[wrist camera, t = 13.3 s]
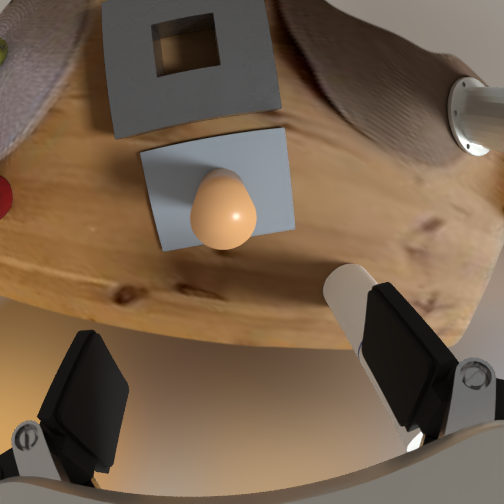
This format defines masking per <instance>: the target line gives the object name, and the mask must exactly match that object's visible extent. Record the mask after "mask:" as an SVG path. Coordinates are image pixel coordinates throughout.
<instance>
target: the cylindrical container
mask: <svg viewBox="0 0 504 504" xmlns="http://www.w3.org/2000/svg"><path fill="white" fill-rule="evenodd" d="M377 284H378V283H377V282H376V281H375V280H374V279H373V278H372V276H371V275H370V274H369V273H368V272H367V271H366V270H365V269H364V268H363V267H362V266H360V265H357V264H345V265H342V266H340V267H338V268H336V269H335V270H334V271H333V272H332V273H331V274H330V275H329V276H328V277H327V279H326V281H325V283H324V287H323V295H324V298H325V300H326V302H327V304H328V305H329V307H330V309H331V311H332V312H333V314H334V316H335V318H336V319H337V321H338V323H339V324H340V326H341V328H342V330H343V331H344V333H345V335H346V337H347V339H348V340H349V342H350V344H351V346H352V347H353V349H354V351H355V353H356V355H357V356H358V358H359V360H360V362H361V364H362V366H363V367H364V369H365V371H366V373H367V375H368V376H369V378H370V380H371V382H372V384H373V385H374V388H375V389H376V391H377V393H378V395H379V397H380V399H381V401H382V403H383V405H384V406H385V408H386V410H387V412H388V414H389V416H390V418H391V420H392V422H393V424H394V426H395V428H396V430H397V432H398V434H399V436H400V438H401V440H402V442H403V444H404V446H405V448H406V449H407V451H408V452H410V451H412V450H415V449H417V448H419V446H420V443H421V439H422V436H423V434H422V432H421V430H420V428H417V429H415V430H413V431H410V432H407V430H406V428H405V426H403V427H401V426H400V425H399V424H398V422H397V420H396V418H395V416H394V414H393V412H392V410H391V408H390V406H389V404H388V402H387V400H386V398H385V396H384V395H383V393H382V391H381V389H380V387H379V385H378V383H377V381H376V380H375V378H374V376H373V374H372V372H371V370H370V368H369V367H368V365H367V363H366V361H365V359H364V357H363V355H362V349H361V348H362V340H363V333H364V324H365V315H366V306H367V295H368V292H369V291H370V290H372V287H373V286H374V285H377Z"/></svg>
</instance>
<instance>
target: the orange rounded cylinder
mask: <svg viewBox="0 0 504 504" xmlns="http://www.w3.org/2000/svg"><path fill="white" fill-rule="evenodd" d="M256 220H257V215H256V209H255V206H254V204H253V202H252V200H251V198H250V196H249V194H248V192H247V190H246V188H245V186H244V184H243V182H242V180H241V178H240V177H239V176H238V175H237V174H236V173H235V172H233V171H232V170H229V169H225V168H218V169H214V170H212V171H210V172H208V173H207V174H206V175H205V176H204V177H203V178H202V180H201V182H200V185H199V188H198V191H197V194H196V197H195V200H194V203H193V206H192V209H191V213H190V223H191V228H192V230H193V232H194V234H195V236H196V237H197V238H198V239H199V240H200V241H201V242H202V243H203V244H205V245H206V246H208V247H211V248H214V249H219V250H226V249H232V248H235V247H238V246H239V245H241V244H243V243H244V242H245V241H246V240H247V239H248V238H249V237H250V236H251V234H252V233H253V231H254V229H255V226H256Z"/></svg>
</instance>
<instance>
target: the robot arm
mask: <svg viewBox="0 0 504 504" xmlns="http://www.w3.org/2000/svg"><path fill="white" fill-rule="evenodd" d="M448 118H449V124H450V127H451V131H452V133H453V136H454V138H455V140H456V141H457V143H458V145H459V146H460V147H461V148H462V149H463V150H464V151H465V152H466V153H468V154H470V155H474V156H483V155H485V154H486V153H488V152H489V151H490V150H494V151H498V152H502V153H504V88H498V87H485V86H484V85H483V84H482V83H481V82H480V81H478V80H477V79H474V78H471V77H464V78H460V79H458V80H457V81H456V82H455V83H454V84H453V86H452V88H451V90H450V93H449V97H448ZM361 349H362V355H363V357H364V359H365V361H366V363H367V365H368V367H369V368H370V370H371V372H372V374H373V376H374V378H375V380H376V381H377V383H378V385H379V387H380V389H381V391H382V393H383V395H384V396H385V398H386V400H387V402H388V404H389V406H390V408H391V410H392V412H393V414H394V416H395V418H396V420H397V422H398V424H399V425H400V426H401V427H403V426H405V428H406V430H407V432H410V431H413V430H415V429H417V428H420V430H421V432H422V434H423V436H422V439H421V443H420V446H419V448H417V449H415V450H412V451H410V452H408V453H405V454H403V455H400V456H398V457H395V458H393V459H390V460H387V461H385V462H382V463H379V464H376V465H374V466H371V467H368V468H365V469H362V470H359V471H356V472H352V473H349V474H346V475H342V476H339V477H336V478H331V479H328V480H324V481H319V482H315V483H311V484H306V485H302V486H297V487H292V488H286V489H280V490H274V491H268V492H260V493H251V494H241V495H231V496H212V497H211V496H210V497H172V496H153V495H141V494H132V493H123V492H116V491H109V490H103V489H101V488H100V486H99V484H98V483H97V481H96V479H95V478H94V476H93V475H94V470H95V471H96V472H101V473H107V474H108V473H109V469H110V467H111V466H112V465H113V463H114V458H115V453H116V448H117V443H118V438H119V433H120V428H121V424H122V419H123V415H124V411H125V406H126V402H127V398H128V393H129V386H128V383H127V382H126V380H125V378H124V377H123V375H122V373H121V372H120V370H119V368H118V367H117V365H116V363H115V361H114V360H113V358H112V356H111V354H110V352H109V351H108V349H107V347H106V345H105V343H104V341H103V339H102V337H101V336H100V335H99V334H97V333H96V332H95V331H94V330H85V331H79V332H78V333H77V334H76V337H75V338H74V340H73V342H72V344H71V346H70V348H69V349H68V351H67V353H66V355H65V357H64V359H63V361H62V363H61V365H60V367H59V369H58V371H57V374H56V375H55V378H54V380H53V382H52V384H51V386H50V388H49V390H48V393H47V395H46V397H45V399H44V401H43V404H42V406H41V408H40V411H39V413H38V415H37V417H38V418H39V420H41V422H40V424H38V423H37V422H35V421H32V420H31V421H25V422H22V423H21V424H20V425H18V426H17V428H16V429H15V430H14V432H13V435H12V439H11V440H12V448H11V449H9V450H7V451H6V452H4V453H3V454H1V455H0V504H504V380H502V379H498V378H496V375H495V371H494V370H493V368H492V366H491V365H490V364H489V363H487V362H486V361H484V360H482V359H479V358H467V359H465V360H463V361H461V362H460V363H459V362H458V361H457V359H456V358H455V357H454V355H453V354H452V353H451V352H450V350H449V349H448V348H447V347H446V345H445V344H444V343H443V342H442V341H441V339H440V338H439V337H438V336H437V335H436V333H435V332H434V331H433V330H432V329H431V328H430V326H429V325H428V324H427V323H426V322H425V321H424V320H423V318H422V317H421V316H420V315H419V314H418V313H417V312H416V310H415V309H414V308H413V307H412V306H411V305H410V304H409V303H408V302H407V300H406V299H405V298H404V297H403V296H402V295H401V294H400V293H399V292H398V291H397V290H396V288H395V287H394V286H393V285H392V284H391V283H389V282H386V283H381V284H377V285H374V286H373V287H372V290H370V291H369V292H368V295H367V306H366V315H365V324H364V333H363V340H362V348H361Z"/></svg>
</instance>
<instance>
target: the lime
mask: <svg viewBox="0 0 504 504" xmlns="http://www.w3.org/2000/svg"><path fill="white" fill-rule="evenodd" d="M7 53H8V48H7V43H6V42H5V40H3V39H2V38H0V66H1V65H2V63H3V62H4V60H5V58H6V56H7Z"/></svg>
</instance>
